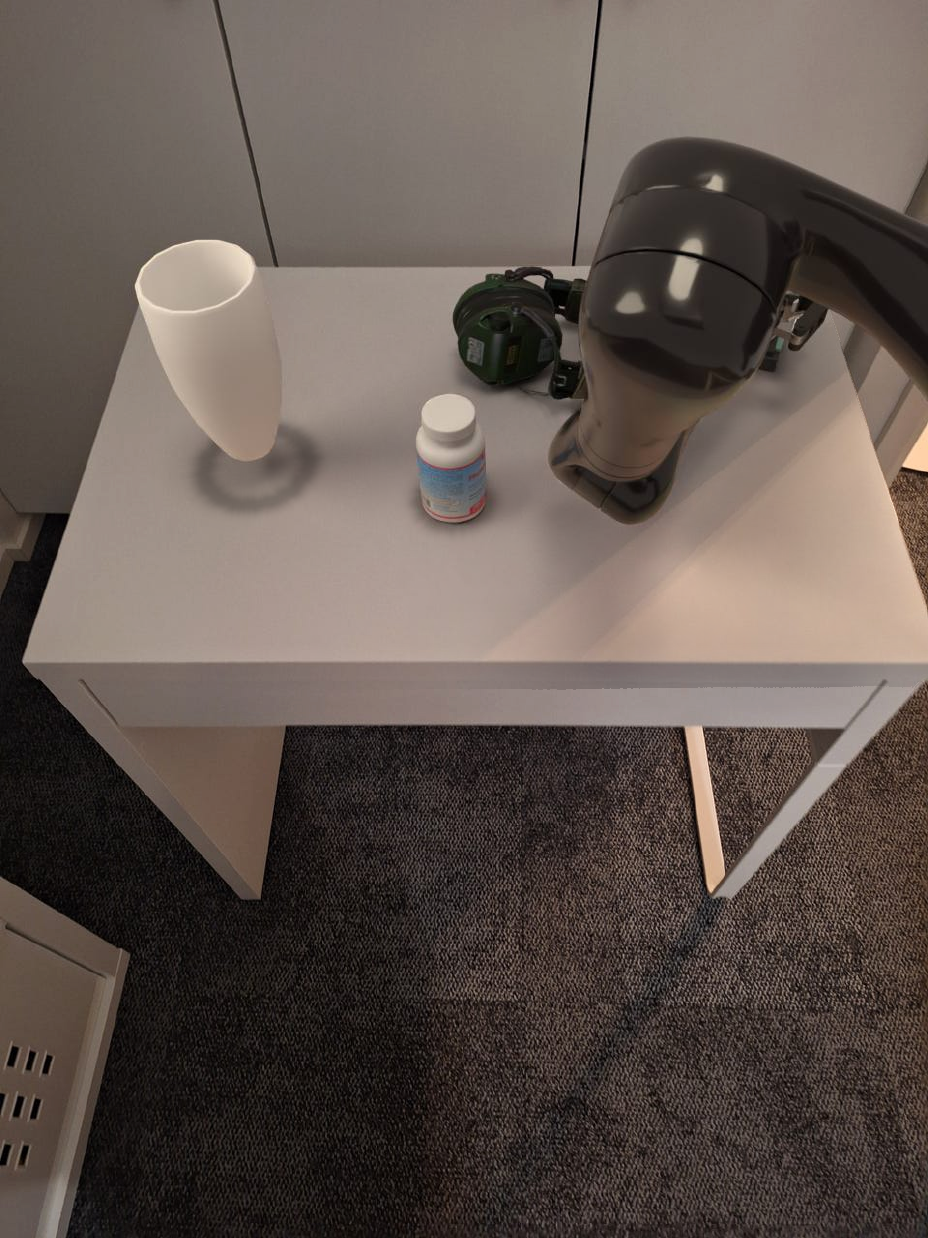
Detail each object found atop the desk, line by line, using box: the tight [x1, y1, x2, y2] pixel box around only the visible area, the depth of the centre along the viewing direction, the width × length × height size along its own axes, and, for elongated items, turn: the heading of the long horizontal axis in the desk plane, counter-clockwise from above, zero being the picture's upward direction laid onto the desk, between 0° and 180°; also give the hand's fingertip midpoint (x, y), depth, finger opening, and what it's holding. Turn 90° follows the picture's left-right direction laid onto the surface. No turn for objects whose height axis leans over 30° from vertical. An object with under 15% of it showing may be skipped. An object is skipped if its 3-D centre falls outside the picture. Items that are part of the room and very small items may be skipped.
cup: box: [134, 239, 283, 462], centre depth 81 cm, size 10×10×22 cm
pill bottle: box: [415, 393, 487, 523], centre depth 82 cm, size 6×6×11 cm
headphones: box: [452, 265, 588, 401], centre depth 93 cm, size 13×13×20 cm
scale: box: [757, 319, 790, 373], centre depth 96 cm, size 7×7×2 cm
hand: (778, 257), depth 89 cm, fingers open, 8 cm apart
